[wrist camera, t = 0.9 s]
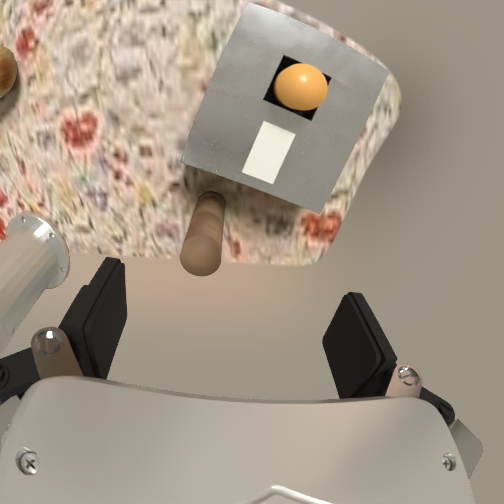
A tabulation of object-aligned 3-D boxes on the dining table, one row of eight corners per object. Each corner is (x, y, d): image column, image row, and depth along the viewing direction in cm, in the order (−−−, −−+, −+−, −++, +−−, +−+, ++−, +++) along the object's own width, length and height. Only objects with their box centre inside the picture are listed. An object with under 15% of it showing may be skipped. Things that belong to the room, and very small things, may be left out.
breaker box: (306, 194, 33) (320, 214, 27) (189, 150, 29) (179, 162, 24) (363, 74, 26) (389, 71, 20) (246, 19, 22) (248, 1, 17)
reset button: (304, 115, 24) (315, 118, 21) (265, 98, 24) (270, 97, 20) (321, 79, 23) (335, 77, 19) (282, 61, 22) (290, 55, 18)
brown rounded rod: (207, 222, 34) (195, 282, 23) (191, 200, 32) (172, 253, 22) (230, 208, 33) (228, 265, 23) (215, 186, 32) (205, 233, 21)
